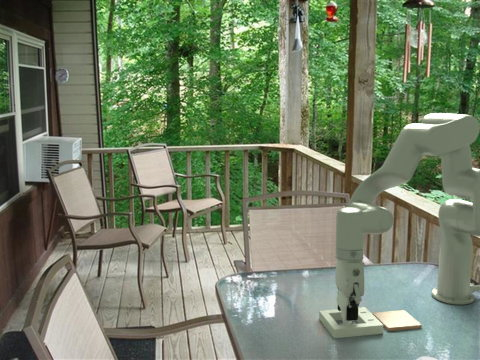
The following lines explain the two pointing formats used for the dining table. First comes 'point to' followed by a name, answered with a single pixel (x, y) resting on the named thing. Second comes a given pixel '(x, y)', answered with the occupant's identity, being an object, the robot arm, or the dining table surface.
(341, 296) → the lightbulb
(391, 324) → the tile
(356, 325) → the slotted square frame
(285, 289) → the dining table surface
